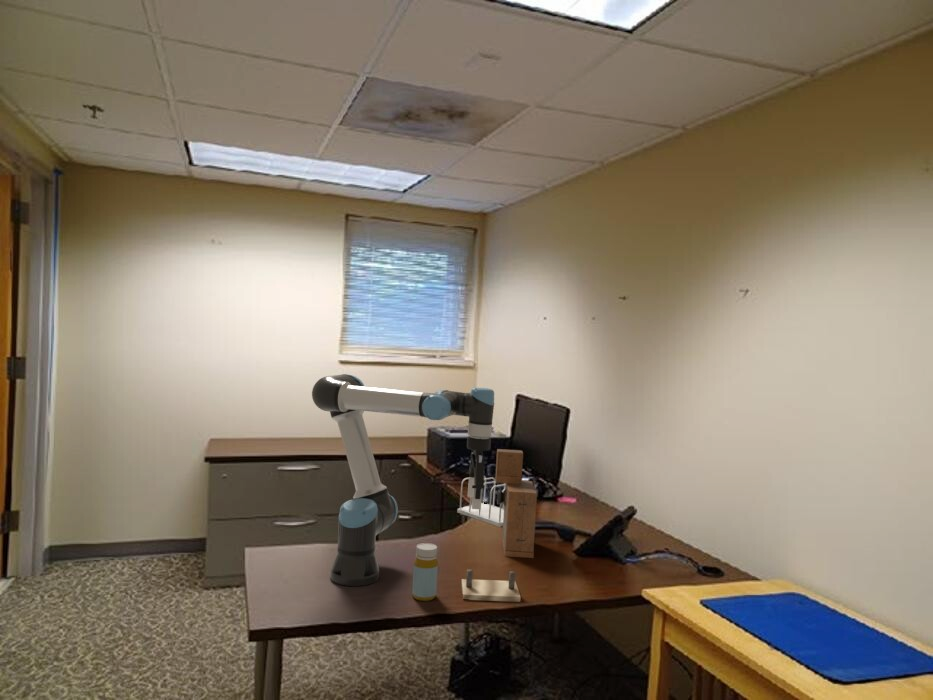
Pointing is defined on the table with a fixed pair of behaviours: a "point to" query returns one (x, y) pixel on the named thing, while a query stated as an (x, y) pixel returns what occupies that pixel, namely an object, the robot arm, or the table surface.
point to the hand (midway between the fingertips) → (473, 502)
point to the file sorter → (485, 507)
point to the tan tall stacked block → (516, 504)
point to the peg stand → (490, 589)
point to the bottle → (425, 572)
